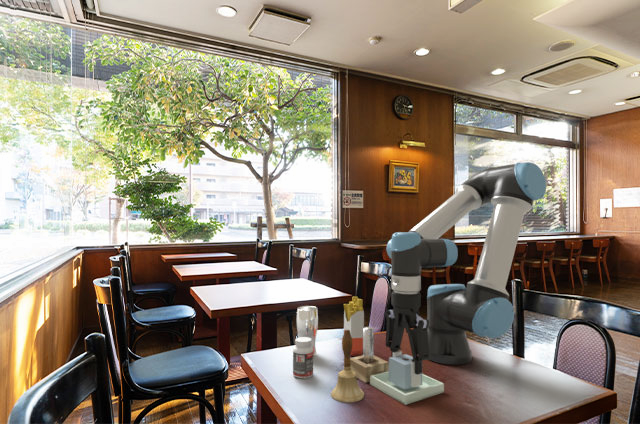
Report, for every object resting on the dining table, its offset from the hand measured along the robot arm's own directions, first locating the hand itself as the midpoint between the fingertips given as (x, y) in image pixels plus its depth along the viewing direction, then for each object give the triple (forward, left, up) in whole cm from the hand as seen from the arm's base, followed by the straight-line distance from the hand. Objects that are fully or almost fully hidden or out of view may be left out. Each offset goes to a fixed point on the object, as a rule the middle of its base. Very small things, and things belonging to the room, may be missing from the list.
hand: (406, 380), depth 98 cm
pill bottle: (+19, -21, -2) cm, 28 cm away
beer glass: (+10, -35, -2) cm, 36 cm away
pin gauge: (+3, -12, -2) cm, 13 cm away
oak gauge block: (+3, -12, -2) cm, 13 cm away
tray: (0, 0, -2) cm, 2 cm away
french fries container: (-4, -29, -2) cm, 29 cm away
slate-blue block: (0, 0, 0) cm, 1 cm away
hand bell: (+15, -5, -2) cm, 16 cm away
